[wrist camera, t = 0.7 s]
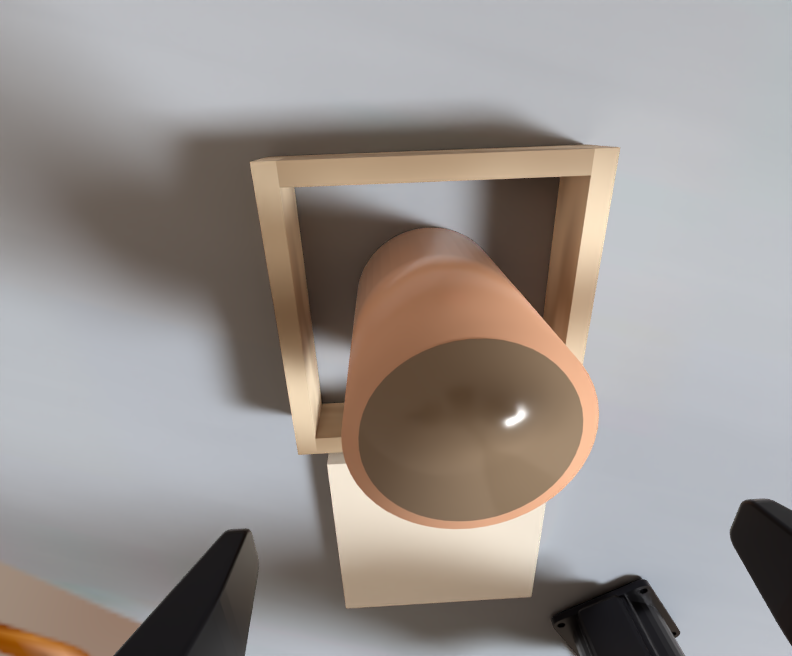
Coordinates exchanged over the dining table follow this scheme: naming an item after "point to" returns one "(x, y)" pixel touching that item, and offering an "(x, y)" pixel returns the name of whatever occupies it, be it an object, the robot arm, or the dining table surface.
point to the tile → (426, 553)
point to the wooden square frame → (575, 165)
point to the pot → (458, 389)
